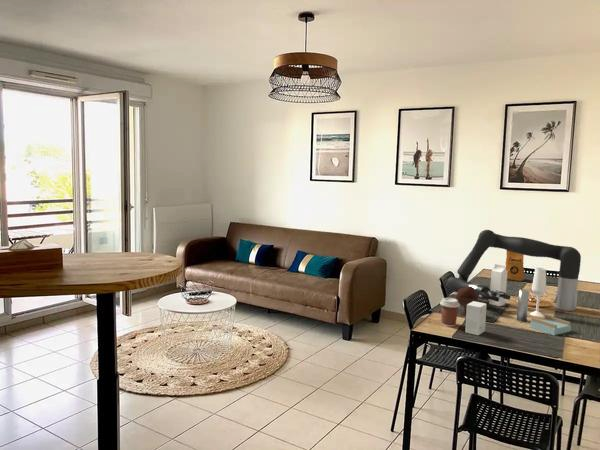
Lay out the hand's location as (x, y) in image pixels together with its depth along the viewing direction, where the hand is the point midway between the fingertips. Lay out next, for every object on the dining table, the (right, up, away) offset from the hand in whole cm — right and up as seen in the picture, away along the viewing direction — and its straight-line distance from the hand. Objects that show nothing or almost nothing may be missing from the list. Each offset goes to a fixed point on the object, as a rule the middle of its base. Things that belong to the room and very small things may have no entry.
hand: (504, 298), depth 247 cm
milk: (+4, -6, +20) cm, 21 cm away
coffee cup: (-34, -10, -17) cm, 39 cm away
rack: (+12, -11, -21) cm, 27 cm away
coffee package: (+41, 0, +82) cm, 91 cm away
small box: (-25, -11, -27) cm, 38 cm away
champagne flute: (+18, -9, +2) cm, 20 cm away
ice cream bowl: (-20, -8, -1) cm, 21 cm away
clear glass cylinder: (+5, -9, -8) cm, 14 cm away
